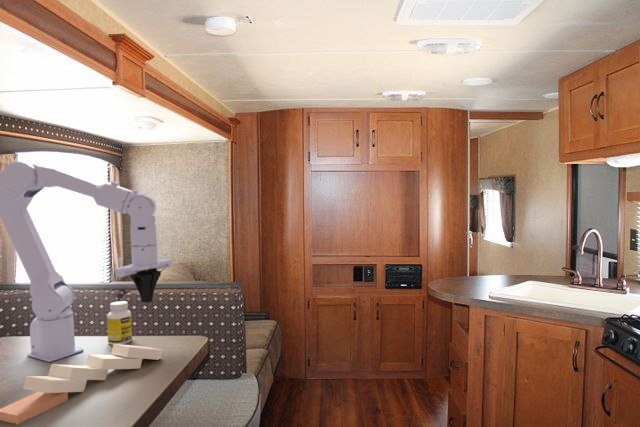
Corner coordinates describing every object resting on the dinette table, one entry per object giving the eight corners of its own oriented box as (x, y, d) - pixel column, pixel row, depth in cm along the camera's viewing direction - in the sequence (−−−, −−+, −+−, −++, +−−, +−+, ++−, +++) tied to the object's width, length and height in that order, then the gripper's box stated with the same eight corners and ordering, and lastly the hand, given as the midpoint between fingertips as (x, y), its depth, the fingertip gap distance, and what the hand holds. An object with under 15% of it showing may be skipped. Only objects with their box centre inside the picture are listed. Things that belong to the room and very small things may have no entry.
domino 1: (83, 391, 82) (48, 393, 74) (60, 387, 83) (22, 388, 75) (87, 380, 83) (52, 380, 75) (63, 376, 84) (26, 376, 76)
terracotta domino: (68, 402, 80) (17, 427, 71) (48, 398, 81) (-3, 422, 73) (67, 391, 79) (17, 415, 71) (47, 387, 81) (-4, 410, 73)
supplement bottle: (123, 346, 107) (121, 305, 106) (103, 345, 108) (101, 305, 108) (136, 338, 112) (135, 300, 112) (117, 338, 113) (115, 299, 113)
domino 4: (160, 359, 97) (126, 357, 90) (145, 356, 100) (110, 353, 92) (163, 350, 98) (129, 347, 91) (147, 347, 100) (113, 343, 93)
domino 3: (140, 368, 93) (101, 369, 85) (124, 364, 95) (85, 365, 88) (142, 358, 93) (104, 358, 86) (126, 354, 96) (88, 354, 88)
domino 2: (105, 380, 88) (69, 379, 79) (85, 376, 89) (47, 375, 81) (108, 369, 88) (72, 367, 80) (88, 366, 90) (51, 364, 82)
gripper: (128, 249, 98) (131, 310, 99) (179, 242, 111) (181, 296, 112) (108, 248, 102) (111, 307, 103) (160, 241, 114) (162, 294, 115)
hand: (146, 301), depth 107 cm, fingers closed
